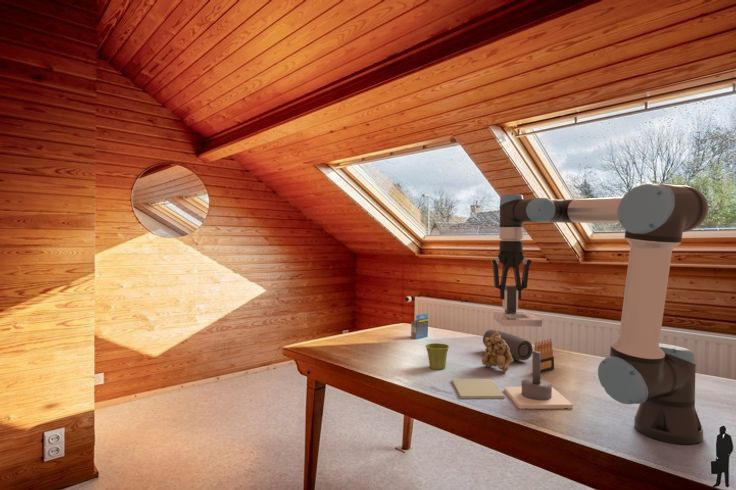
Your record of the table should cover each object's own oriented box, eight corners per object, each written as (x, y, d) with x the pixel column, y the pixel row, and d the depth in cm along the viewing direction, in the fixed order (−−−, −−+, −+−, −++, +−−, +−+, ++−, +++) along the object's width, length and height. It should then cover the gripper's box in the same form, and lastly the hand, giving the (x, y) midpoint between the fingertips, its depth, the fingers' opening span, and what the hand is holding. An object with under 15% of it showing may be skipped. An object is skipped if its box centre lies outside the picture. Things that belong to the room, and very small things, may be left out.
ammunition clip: (536, 374, 168) (536, 342, 168) (532, 373, 170) (532, 341, 169) (554, 369, 174) (554, 338, 174) (550, 368, 175) (550, 337, 175)
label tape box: (422, 335, 234) (422, 312, 234) (428, 337, 231) (428, 313, 231) (410, 338, 228) (410, 314, 228) (416, 339, 225) (416, 315, 225)
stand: (572, 408, 135) (572, 359, 135) (519, 408, 135) (519, 359, 135) (551, 390, 151) (551, 345, 151) (504, 390, 151) (504, 346, 151)
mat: (504, 398, 144) (504, 395, 144) (460, 398, 144) (460, 395, 144) (491, 381, 161) (491, 378, 161) (451, 381, 161) (451, 378, 161)
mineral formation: (491, 364, 182) (491, 327, 182) (518, 372, 171) (518, 333, 170) (477, 367, 178) (477, 329, 177) (504, 376, 166) (504, 335, 166)
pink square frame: (541, 326, 139) (542, 291, 139) (502, 326, 140) (503, 291, 139) (526, 317, 154) (527, 285, 153) (491, 316, 154) (491, 285, 154)
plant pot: (422, 369, 176) (421, 347, 175) (430, 363, 184) (430, 342, 184) (445, 372, 171) (444, 350, 171) (452, 366, 180) (452, 344, 179)
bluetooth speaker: (534, 362, 184) (534, 338, 184) (515, 364, 181) (515, 340, 180) (498, 349, 205) (498, 327, 205) (481, 351, 202) (481, 329, 202)
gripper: (531, 239, 155) (530, 307, 156) (484, 239, 156) (484, 306, 157) (538, 240, 148) (537, 311, 149) (489, 240, 148) (489, 310, 149)
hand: (510, 308), depth 153 cm, fingers closed on pink square frame, 3 cm apart
